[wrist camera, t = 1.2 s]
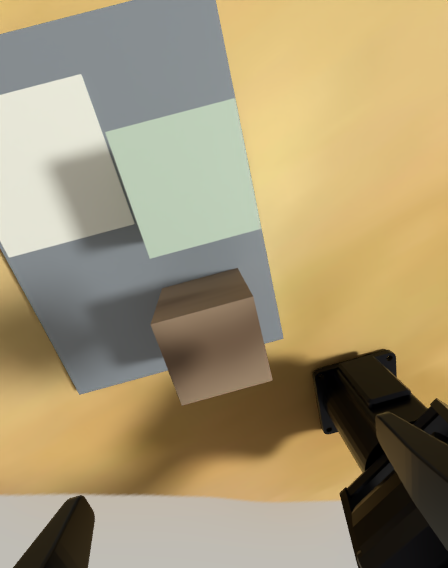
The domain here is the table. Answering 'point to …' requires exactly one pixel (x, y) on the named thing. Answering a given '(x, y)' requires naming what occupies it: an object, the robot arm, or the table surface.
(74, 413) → the table surface
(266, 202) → the table surface
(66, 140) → the baseplate
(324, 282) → the table surface
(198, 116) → the sage block
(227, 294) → the walnut block
